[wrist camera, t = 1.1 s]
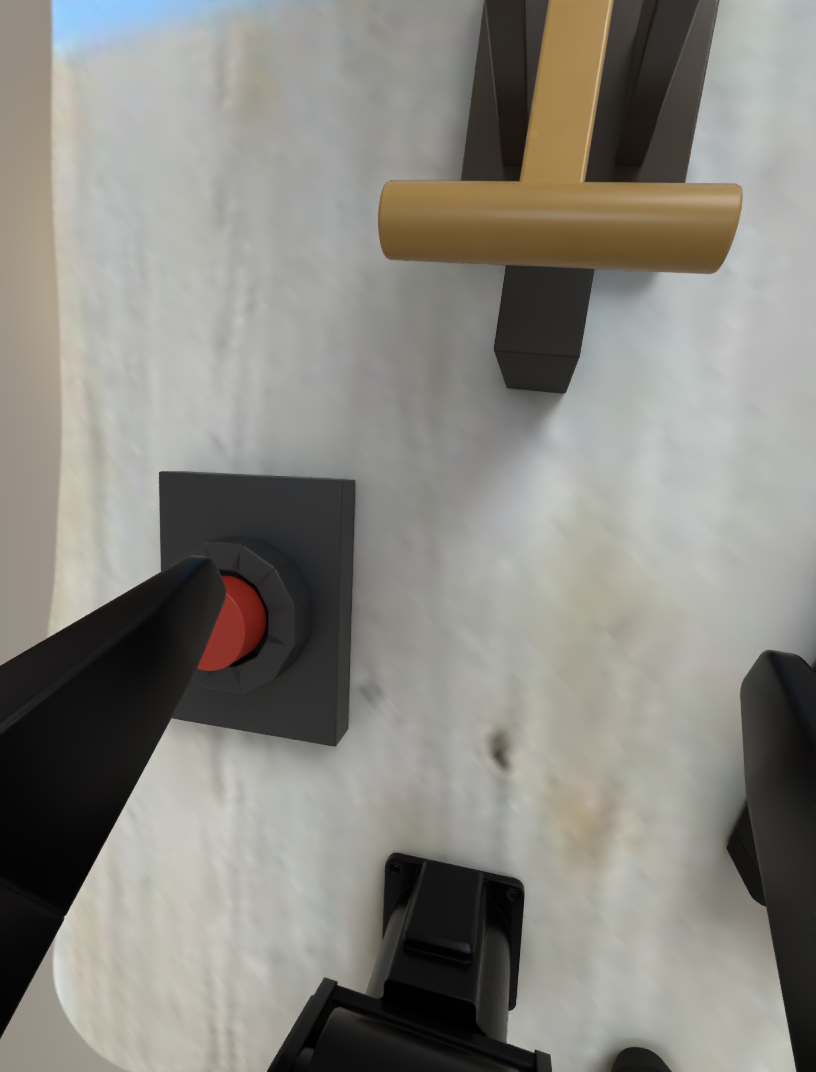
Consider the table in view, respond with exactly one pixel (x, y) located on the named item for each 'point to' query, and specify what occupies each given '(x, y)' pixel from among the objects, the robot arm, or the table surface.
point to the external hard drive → (747, 857)
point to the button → (235, 626)
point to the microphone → (639, 1061)
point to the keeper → (541, 325)
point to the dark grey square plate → (272, 596)
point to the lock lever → (563, 186)
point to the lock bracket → (624, 97)
